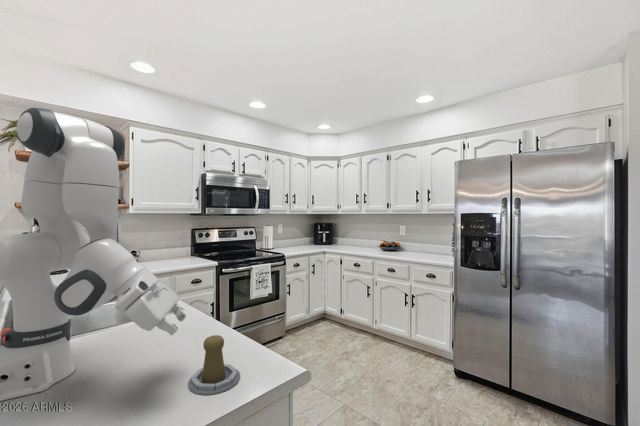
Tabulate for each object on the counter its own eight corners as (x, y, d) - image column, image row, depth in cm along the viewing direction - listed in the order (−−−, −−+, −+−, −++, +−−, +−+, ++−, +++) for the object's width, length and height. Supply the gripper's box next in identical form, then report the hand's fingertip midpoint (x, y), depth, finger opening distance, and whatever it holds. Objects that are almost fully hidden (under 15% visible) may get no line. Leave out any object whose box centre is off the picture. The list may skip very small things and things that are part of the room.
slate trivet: (199, 402, 70) (199, 395, 70) (181, 379, 79) (181, 373, 79) (248, 381, 79) (248, 375, 79) (226, 363, 88) (226, 357, 88)
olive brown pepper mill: (217, 386, 75) (217, 342, 75) (196, 383, 77) (196, 340, 77) (229, 373, 81) (230, 333, 81) (210, 371, 82) (210, 331, 83)
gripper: (144, 287, 85) (180, 320, 87) (111, 310, 65) (158, 351, 67) (161, 272, 86) (196, 304, 88) (134, 289, 66) (180, 330, 68)
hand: (180, 325), depth 77 cm, fingers open, 8 cm apart
